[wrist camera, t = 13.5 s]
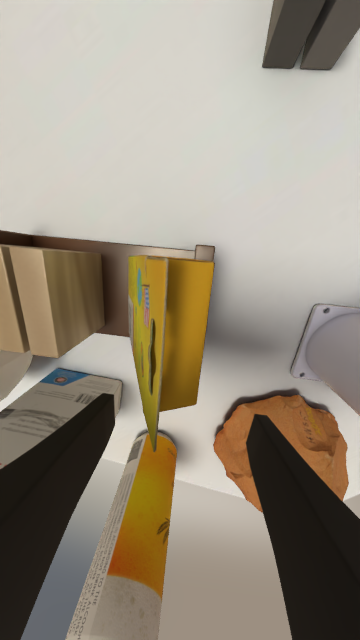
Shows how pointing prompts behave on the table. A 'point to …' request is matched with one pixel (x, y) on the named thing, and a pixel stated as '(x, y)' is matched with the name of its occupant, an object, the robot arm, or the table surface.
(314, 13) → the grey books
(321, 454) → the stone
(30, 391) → the ink box
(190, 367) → the crayon box
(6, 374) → the cup
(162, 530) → the beer can
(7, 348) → the book rack
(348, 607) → the robot arm
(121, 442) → the table surface
